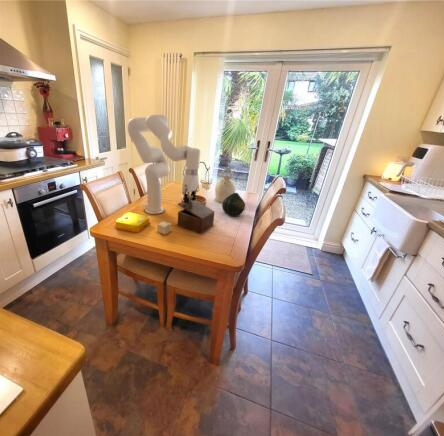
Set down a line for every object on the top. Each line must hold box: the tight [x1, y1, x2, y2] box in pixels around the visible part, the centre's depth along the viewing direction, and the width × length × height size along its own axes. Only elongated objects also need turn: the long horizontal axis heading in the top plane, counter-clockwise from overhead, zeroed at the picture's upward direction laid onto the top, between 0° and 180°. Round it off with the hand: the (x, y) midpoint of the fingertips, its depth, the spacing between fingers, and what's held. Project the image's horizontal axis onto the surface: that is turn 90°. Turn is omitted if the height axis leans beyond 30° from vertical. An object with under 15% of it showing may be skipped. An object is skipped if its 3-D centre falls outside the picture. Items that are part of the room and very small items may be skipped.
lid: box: [177, 194, 216, 219], centre depth 135 cm, size 17×14×5 cm
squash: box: [221, 192, 246, 217], centre depth 157 cm, size 14×15×15 cm
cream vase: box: [214, 167, 236, 204], centre depth 177 cm, size 15×16×25 cm
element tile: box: [115, 211, 150, 233], centre depth 137 cm, size 15×15×5 cm
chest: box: [177, 208, 215, 235], centre depth 139 cm, size 17×14×9 cm
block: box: [157, 221, 171, 236], centre depth 131 cm, size 5×5×5 cm
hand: (189, 201), depth 137 cm, fingers closed on lid, 5 cm apart
